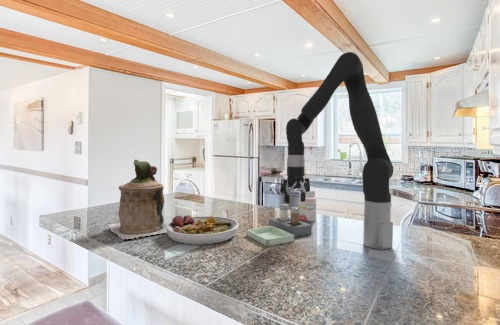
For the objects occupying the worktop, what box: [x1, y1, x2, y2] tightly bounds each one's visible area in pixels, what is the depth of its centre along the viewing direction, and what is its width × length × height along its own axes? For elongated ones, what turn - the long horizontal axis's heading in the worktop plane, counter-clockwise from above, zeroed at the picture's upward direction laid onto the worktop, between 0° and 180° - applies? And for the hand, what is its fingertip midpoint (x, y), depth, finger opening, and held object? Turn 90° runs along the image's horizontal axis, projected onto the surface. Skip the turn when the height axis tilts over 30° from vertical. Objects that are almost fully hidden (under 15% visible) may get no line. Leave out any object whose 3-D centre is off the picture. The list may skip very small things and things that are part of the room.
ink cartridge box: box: [298, 190, 317, 222], centre depth 152 cm, size 9×5×15 cm, turn 84°
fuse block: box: [268, 216, 313, 238], centre depth 133 cm, size 18×10×4 cm, turn 30°
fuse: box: [279, 203, 290, 222], centre depth 136 cm, size 4×4×11 cm
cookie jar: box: [107, 159, 170, 241], centre depth 133 cm, size 25×25×32 cm
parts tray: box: [245, 225, 296, 248], centre depth 122 cm, size 16×13×2 cm
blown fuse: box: [290, 206, 300, 226], centre depth 130 cm, size 4×4×11 cm
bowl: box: [166, 215, 239, 246], centre depth 126 cm, size 30×30×8 cm
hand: (295, 202), depth 129 cm, fingers open, 8 cm apart
